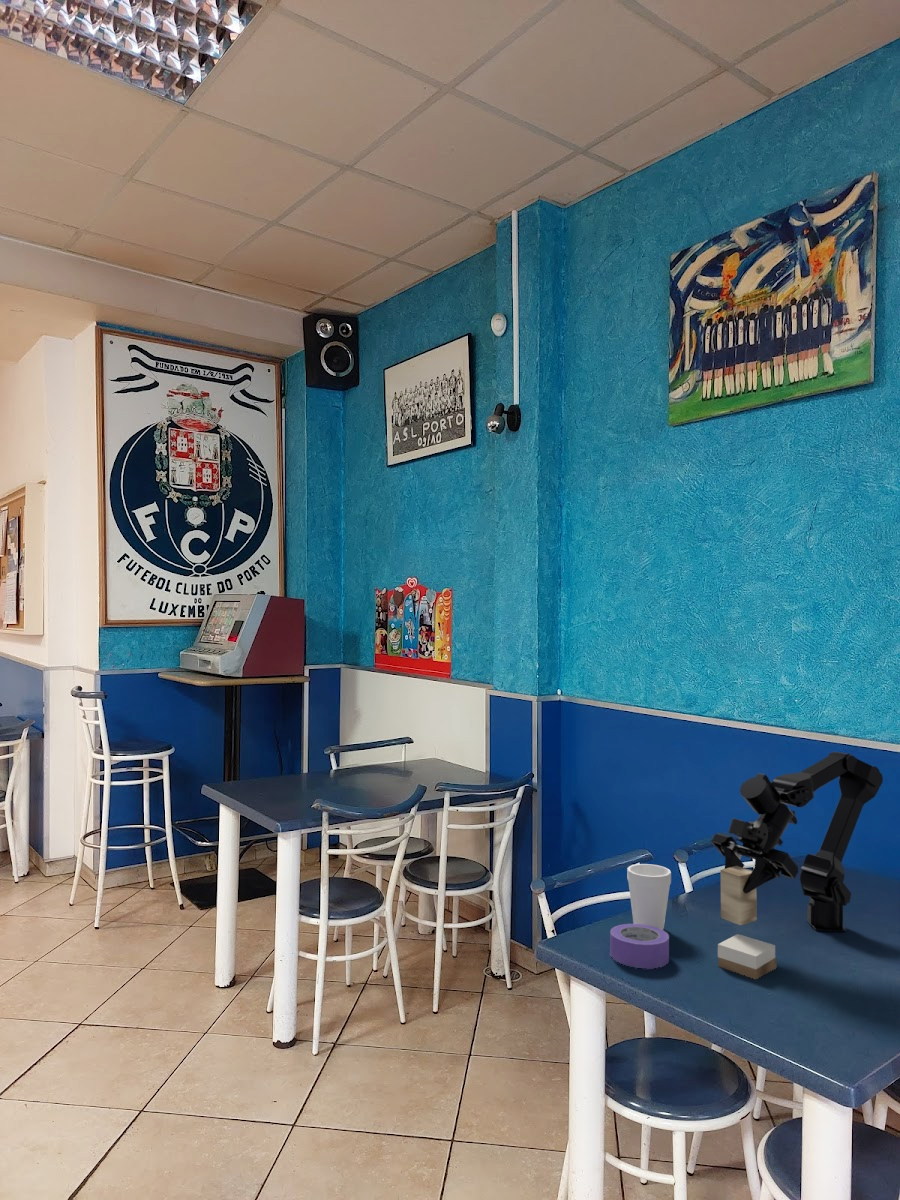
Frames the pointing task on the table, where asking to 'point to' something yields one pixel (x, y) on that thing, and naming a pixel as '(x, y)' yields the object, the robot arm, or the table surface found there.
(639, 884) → the foam cup
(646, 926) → the tape roll
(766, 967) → the walnut slab
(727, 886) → the beech pillar
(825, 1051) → the table surface
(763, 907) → the table surface
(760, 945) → the cream slab
